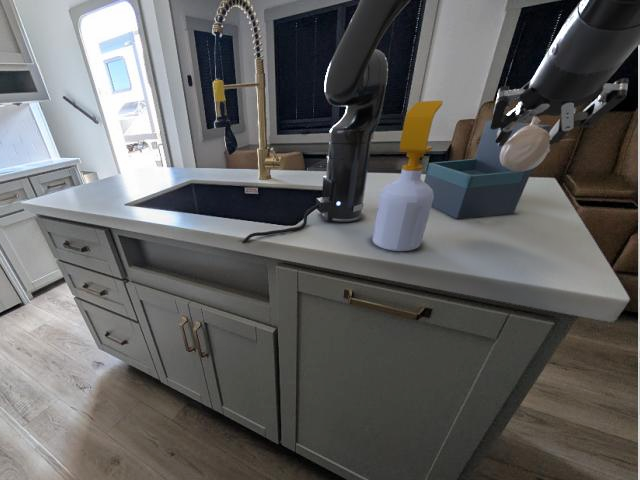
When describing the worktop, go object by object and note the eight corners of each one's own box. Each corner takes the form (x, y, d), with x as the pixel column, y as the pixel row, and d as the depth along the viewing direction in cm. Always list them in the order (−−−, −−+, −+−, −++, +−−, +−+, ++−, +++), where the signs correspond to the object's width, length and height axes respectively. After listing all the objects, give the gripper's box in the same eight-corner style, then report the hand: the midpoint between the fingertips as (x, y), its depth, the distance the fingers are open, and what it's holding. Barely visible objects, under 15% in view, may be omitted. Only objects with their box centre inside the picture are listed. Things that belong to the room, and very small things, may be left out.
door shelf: (456, 219, 72) (485, 131, 62) (419, 200, 85) (438, 125, 75) (513, 213, 72) (551, 125, 62) (467, 195, 85) (493, 120, 75)
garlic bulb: (549, 170, 51) (575, 114, 47) (525, 176, 49) (550, 118, 44) (505, 164, 56) (525, 113, 52) (483, 170, 54) (501, 117, 50)
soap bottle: (426, 239, 64) (465, 98, 50) (411, 256, 58) (451, 102, 45) (382, 231, 69) (407, 101, 55) (365, 245, 64) (388, 105, 50)
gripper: (686, 5, 34) (584, 120, 49) (521, 25, 39) (476, 122, 55) (680, 64, 33) (578, 162, 48) (511, 77, 39) (468, 160, 54)
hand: (524, 141), depth 51 cm, fingers closed on garlic bulb, 5 cm apart
